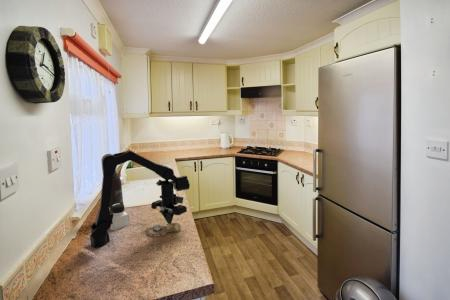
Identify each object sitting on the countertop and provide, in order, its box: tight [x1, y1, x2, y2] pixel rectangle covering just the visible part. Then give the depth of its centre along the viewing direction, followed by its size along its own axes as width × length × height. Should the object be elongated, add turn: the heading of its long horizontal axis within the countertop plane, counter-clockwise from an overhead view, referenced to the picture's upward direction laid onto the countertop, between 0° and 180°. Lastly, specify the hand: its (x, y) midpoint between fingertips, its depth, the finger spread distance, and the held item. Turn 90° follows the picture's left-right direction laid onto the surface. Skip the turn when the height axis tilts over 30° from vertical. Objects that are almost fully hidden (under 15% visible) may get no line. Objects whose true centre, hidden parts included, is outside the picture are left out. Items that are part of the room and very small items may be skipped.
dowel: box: [174, 224, 179, 233], centre depth 121 cm, size 2×2×3 cm
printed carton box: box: [110, 203, 130, 231], centre depth 130 cm, size 7×7×12 cm
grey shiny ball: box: [153, 224, 162, 232], centre depth 121 cm, size 3×3×3 cm
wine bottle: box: [109, 170, 124, 211], centre depth 143 cm, size 7×7×30 cm
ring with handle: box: [147, 222, 182, 238], centre depth 122 cm, size 15×9×3 cm, turn 100°
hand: (169, 224), depth 126 cm, fingers closed
